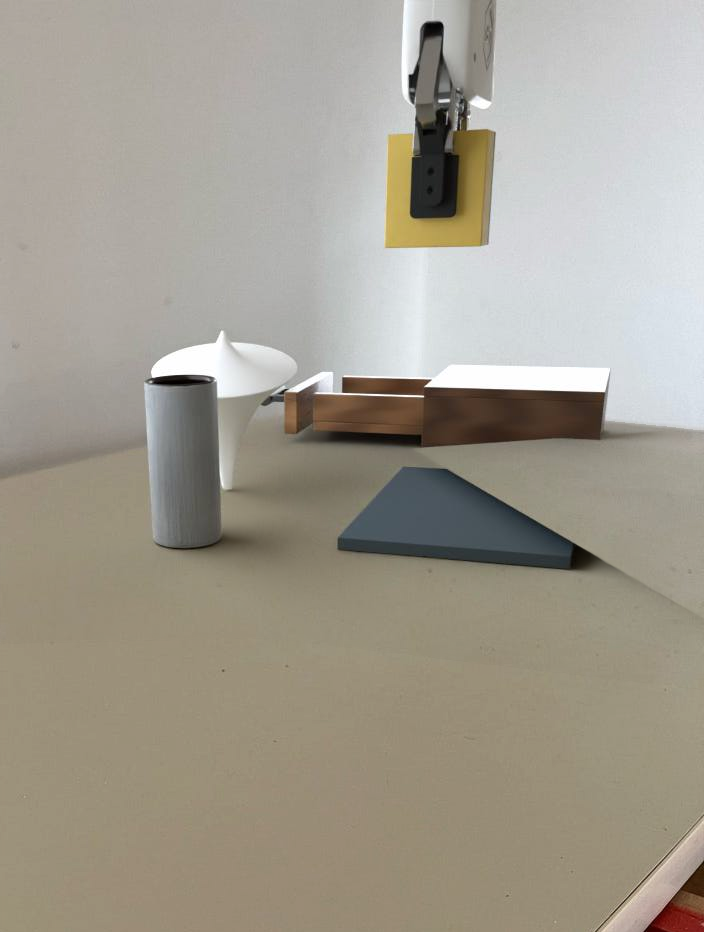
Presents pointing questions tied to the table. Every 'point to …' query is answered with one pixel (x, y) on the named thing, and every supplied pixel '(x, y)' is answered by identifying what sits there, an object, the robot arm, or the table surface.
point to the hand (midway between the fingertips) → (438, 214)
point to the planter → (183, 459)
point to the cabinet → (513, 404)
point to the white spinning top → (232, 386)
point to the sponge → (471, 195)
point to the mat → (451, 524)
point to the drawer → (354, 404)
